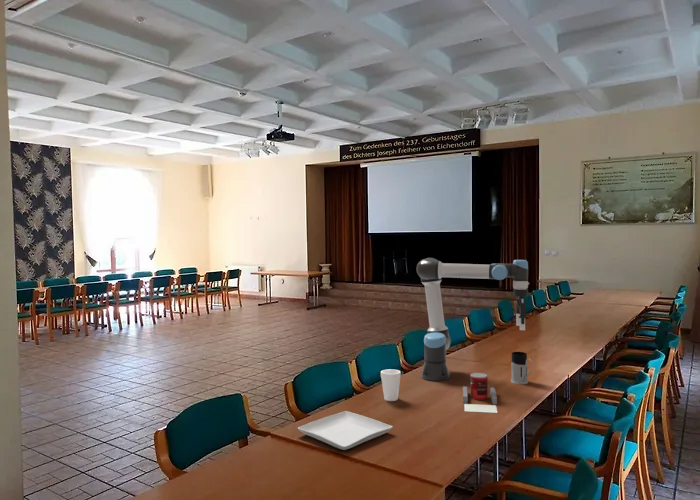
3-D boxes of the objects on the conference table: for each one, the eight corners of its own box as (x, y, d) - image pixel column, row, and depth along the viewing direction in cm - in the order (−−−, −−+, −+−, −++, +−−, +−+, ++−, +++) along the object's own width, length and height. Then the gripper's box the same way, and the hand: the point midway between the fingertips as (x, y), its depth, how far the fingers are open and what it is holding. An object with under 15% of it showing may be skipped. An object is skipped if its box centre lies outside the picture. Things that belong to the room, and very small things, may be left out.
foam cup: (384, 403, 243) (384, 375, 243) (378, 397, 252) (378, 370, 252) (404, 400, 246) (403, 373, 245) (397, 395, 255) (396, 368, 254)
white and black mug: (520, 378, 279) (520, 350, 279) (539, 385, 266) (539, 356, 266) (507, 380, 276) (506, 352, 276) (525, 387, 263) (525, 358, 262)
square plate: (296, 436, 206) (296, 426, 205) (346, 418, 225) (346, 409, 225) (344, 456, 186) (343, 445, 186) (394, 434, 205) (394, 424, 205)
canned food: (475, 394, 254) (474, 371, 254) (490, 397, 249) (490, 374, 248) (467, 398, 248) (467, 375, 248) (483, 401, 243) (483, 377, 243)
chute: (463, 411, 229) (463, 404, 229) (462, 392, 257) (462, 386, 257) (498, 413, 226) (498, 406, 226) (494, 393, 254) (494, 387, 254)
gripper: (531, 291, 269) (531, 332, 270) (524, 286, 293) (524, 324, 294) (516, 291, 270) (516, 331, 271) (510, 286, 295) (510, 323, 295)
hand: (520, 327), depth 282 cm, fingers open, 13 cm apart
